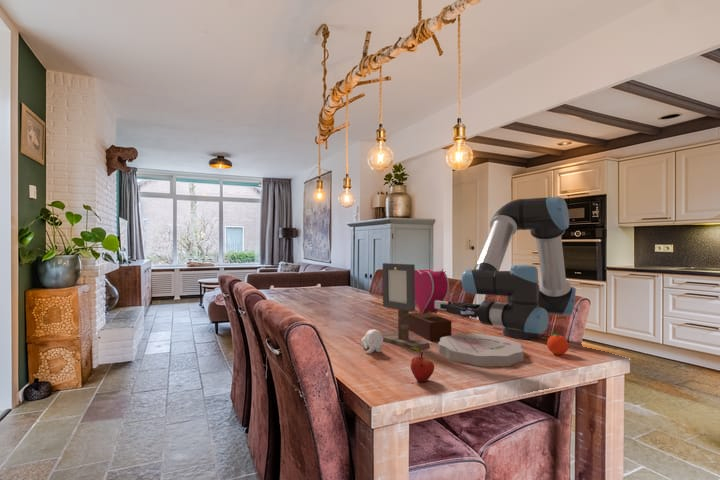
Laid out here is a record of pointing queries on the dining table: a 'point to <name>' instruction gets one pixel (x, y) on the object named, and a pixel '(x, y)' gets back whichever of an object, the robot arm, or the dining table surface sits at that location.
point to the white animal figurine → (372, 341)
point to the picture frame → (399, 286)
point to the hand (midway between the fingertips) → (435, 304)
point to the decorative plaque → (480, 349)
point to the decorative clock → (430, 305)
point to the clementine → (557, 344)
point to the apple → (421, 367)
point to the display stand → (404, 334)
